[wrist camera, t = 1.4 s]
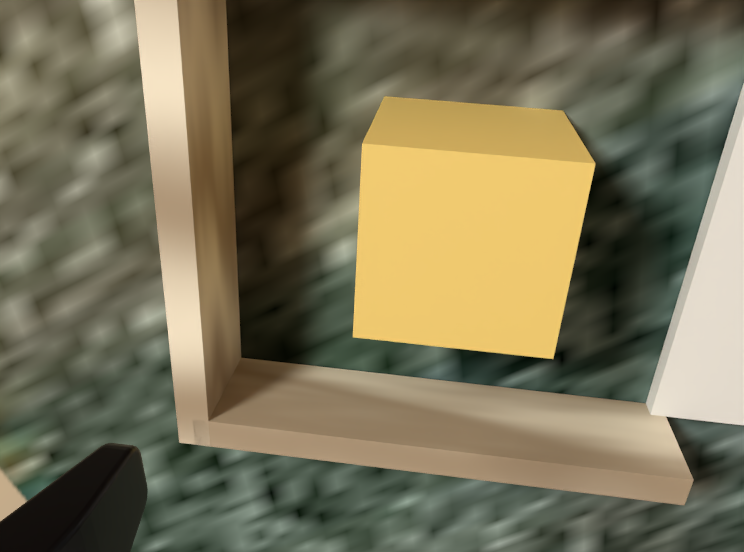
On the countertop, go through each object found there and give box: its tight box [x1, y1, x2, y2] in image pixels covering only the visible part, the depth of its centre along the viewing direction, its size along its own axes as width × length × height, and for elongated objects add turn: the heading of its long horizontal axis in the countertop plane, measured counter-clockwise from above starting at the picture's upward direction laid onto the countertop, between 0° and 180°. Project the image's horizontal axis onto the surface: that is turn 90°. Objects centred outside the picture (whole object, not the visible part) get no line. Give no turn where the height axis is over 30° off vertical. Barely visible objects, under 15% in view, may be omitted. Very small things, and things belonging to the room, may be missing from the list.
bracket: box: [134, 0, 694, 505], centre depth 18 cm, size 16×16×4 cm
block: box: [353, 96, 595, 359], centre depth 18 cm, size 5×5×5 cm
